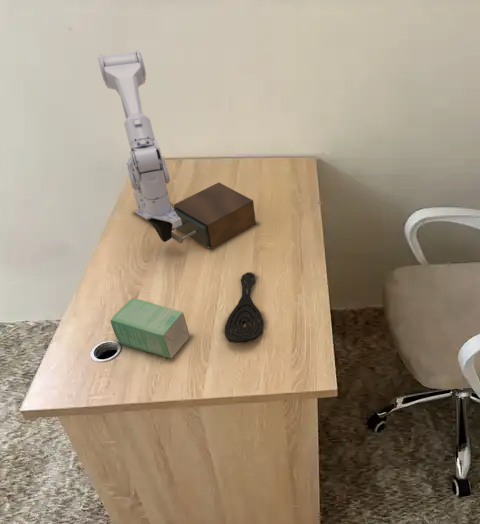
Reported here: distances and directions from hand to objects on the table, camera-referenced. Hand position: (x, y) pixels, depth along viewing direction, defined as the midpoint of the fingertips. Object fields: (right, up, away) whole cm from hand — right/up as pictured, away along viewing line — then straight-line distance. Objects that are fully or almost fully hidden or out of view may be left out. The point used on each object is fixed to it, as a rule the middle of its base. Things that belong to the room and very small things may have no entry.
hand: (166, 239), depth 145 cm
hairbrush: (+23, -17, -14) cm, 32 cm away
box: (+4, -23, -21) cm, 31 cm away
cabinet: (+10, +4, +12) cm, 16 cm away
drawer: (+7, +3, +9) cm, 12 cm away
